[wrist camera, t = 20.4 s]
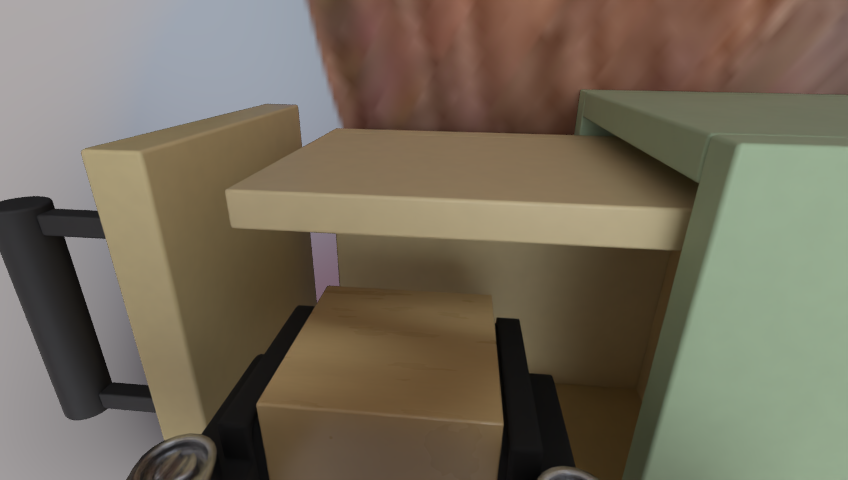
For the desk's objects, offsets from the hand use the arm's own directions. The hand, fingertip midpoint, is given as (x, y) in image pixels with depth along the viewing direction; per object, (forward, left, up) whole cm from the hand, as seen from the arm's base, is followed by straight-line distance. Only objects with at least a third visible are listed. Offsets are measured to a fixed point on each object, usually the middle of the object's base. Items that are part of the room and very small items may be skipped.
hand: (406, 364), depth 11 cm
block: (0, 0, 0) cm, 0 cm away
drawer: (-1, 0, -6) cm, 6 cm away
